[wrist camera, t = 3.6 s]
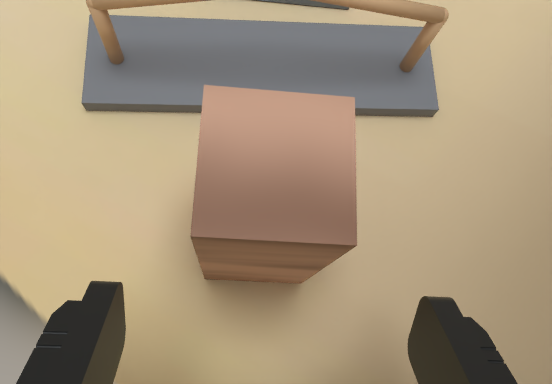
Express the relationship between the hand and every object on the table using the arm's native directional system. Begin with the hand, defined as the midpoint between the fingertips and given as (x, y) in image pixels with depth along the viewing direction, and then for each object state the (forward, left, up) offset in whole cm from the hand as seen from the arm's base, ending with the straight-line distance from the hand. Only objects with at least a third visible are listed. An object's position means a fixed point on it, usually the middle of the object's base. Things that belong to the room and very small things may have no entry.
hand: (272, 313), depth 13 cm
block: (-3, -3, -9) cm, 10 cm away
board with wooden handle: (-8, -10, -10) cm, 16 cm away
